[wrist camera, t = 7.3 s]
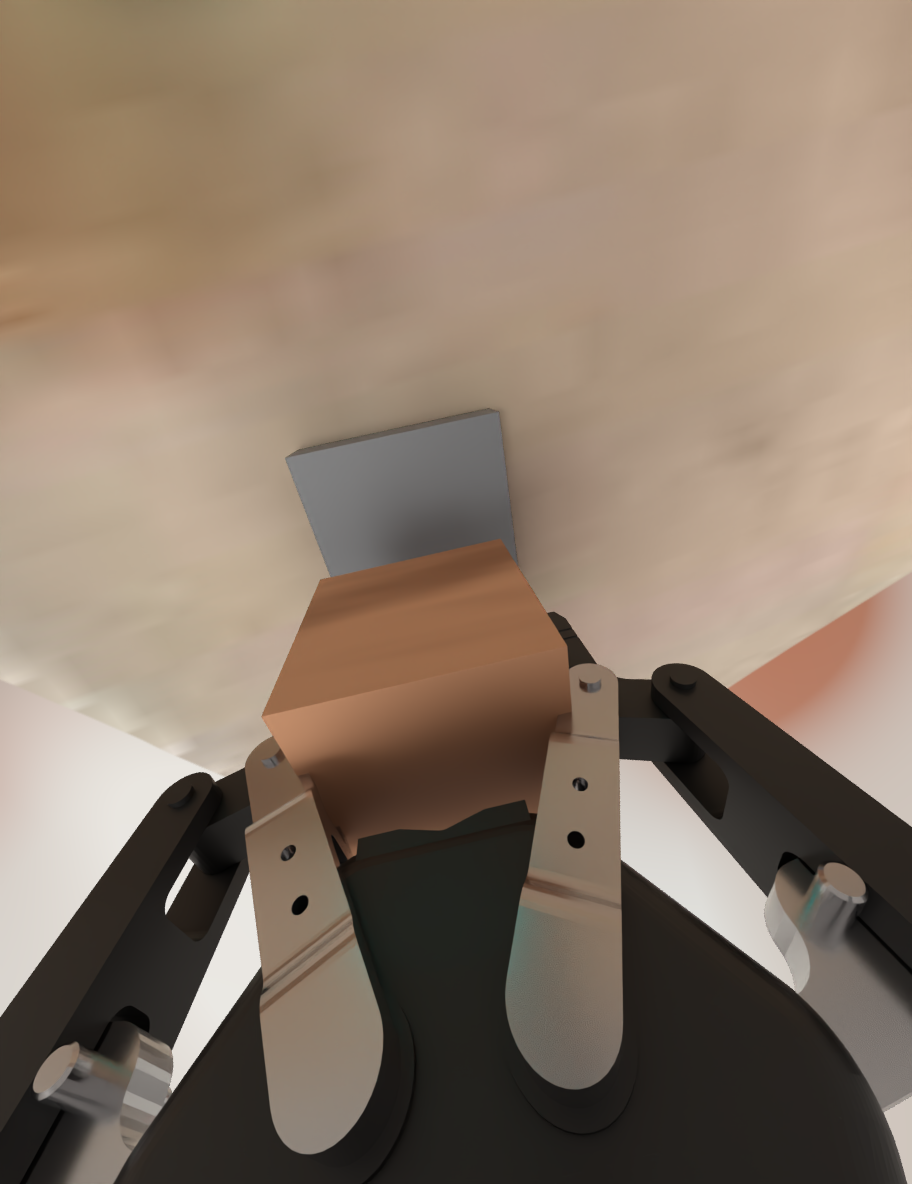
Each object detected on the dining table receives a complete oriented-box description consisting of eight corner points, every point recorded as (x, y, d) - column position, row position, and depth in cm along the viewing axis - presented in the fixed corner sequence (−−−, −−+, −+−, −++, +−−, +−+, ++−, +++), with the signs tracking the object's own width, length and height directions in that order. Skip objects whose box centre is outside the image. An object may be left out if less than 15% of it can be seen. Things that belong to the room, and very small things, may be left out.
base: (300, 448, 21) (284, 457, 18) (486, 408, 21) (498, 411, 18) (367, 633, 26) (363, 661, 24) (513, 601, 26) (525, 625, 24)
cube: (320, 579, 13) (261, 716, 8) (500, 538, 13) (567, 646, 8) (374, 711, 16) (358, 877, 10) (521, 677, 16) (580, 825, 10)
